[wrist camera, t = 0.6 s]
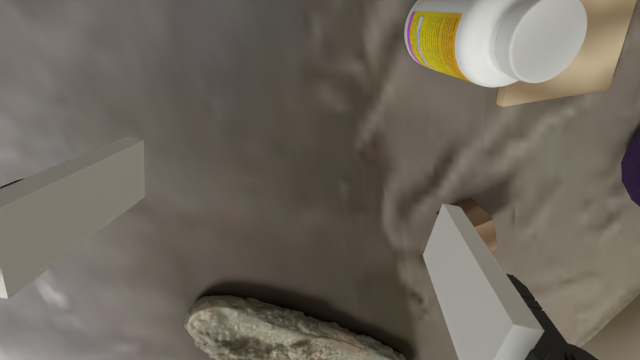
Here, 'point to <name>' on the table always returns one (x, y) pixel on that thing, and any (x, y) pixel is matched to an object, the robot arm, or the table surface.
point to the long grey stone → (274, 333)
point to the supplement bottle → (496, 38)
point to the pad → (582, 57)
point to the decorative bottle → (632, 169)
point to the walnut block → (480, 222)
